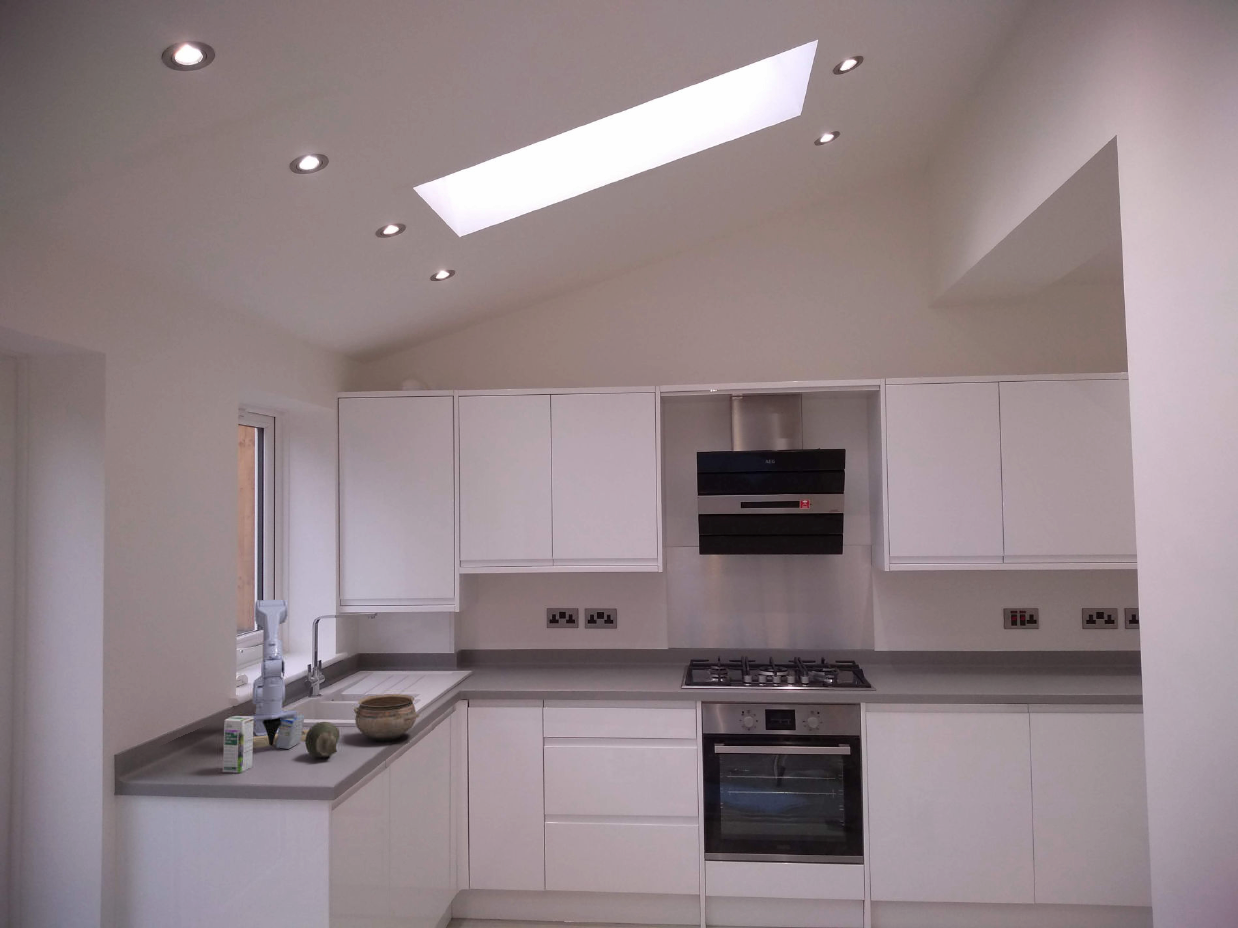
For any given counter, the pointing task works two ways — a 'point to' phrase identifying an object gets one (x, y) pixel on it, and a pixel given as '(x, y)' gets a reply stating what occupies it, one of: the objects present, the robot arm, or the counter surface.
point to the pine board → (264, 740)
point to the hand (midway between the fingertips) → (271, 744)
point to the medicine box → (290, 732)
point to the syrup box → (238, 744)
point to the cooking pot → (385, 716)
